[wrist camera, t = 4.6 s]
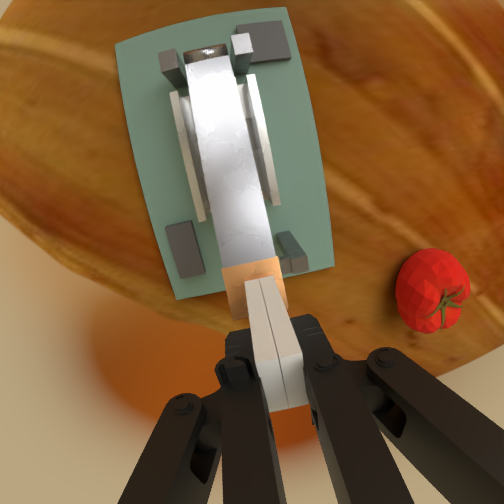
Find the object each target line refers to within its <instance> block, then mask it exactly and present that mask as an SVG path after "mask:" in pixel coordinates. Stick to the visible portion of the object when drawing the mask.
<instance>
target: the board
mask: <svg viewBox="0 0 504 504" xmlns="http://www.w3.org/2000/svg"><path fill="white" fill-rule="evenodd" d="M244 33H249V36H250V40H251V44H252V48H253V55H252V59H251V63H250V67H249V70H248V74H242V75H236V76H234V77H235V79H236V83H237V85H240V84H244V83H245V79H246V75H251V74H255V78H256V82H257V87H258V91H259V96H260V100H261V105H262V110H263V114H264V119H265V124H266V129H267V133H268V138H269V143H270V148H271V153H272V159H273V164H274V169H275V174H276V180H277V185H278V190H279V196H280V202H281V205H277V206H273V205H272V204H271V203H270V202H269V200H264V204H265V208H266V213H267V217H268V222H269V226H270V231H271V236H272V240H273V245H274V249H275V254H276V256H278V259H279V257H280V256H284V255H283V253H282V251H281V249H280V247H279V245H278V239H277V234H276V233H279V232H284V231H290V232H291V234H292V235H293V236H294V238H295V239H296V241H297V242H298V243H299V245H300V246H301V248H302V249H303V250H304V252H305V253H306V255H307V257H308V265H309V271H307V272H302V273H298V274H294V275H293V273H289V274H285V275H283V274H282V278H286V277H290V276H295V275H299V274H303V273H308V272H312V271H316V270H321V269H325V268H329V267H333V266H335V264H334V252H333V242H332V233H331V224H330V215H329V207H328V199H327V192H326V185H325V178H324V172H323V165H322V159H321V153H320V147H319V142H318V136H317V131H316V125H315V120H314V115H313V110H312V106H311V101H310V96H309V92H308V87H307V83H306V79H305V74H304V70H303V66H302V62H301V58H300V54H299V50H298V47H297V43H296V39H295V36H294V32H293V29H292V25H291V22H290V18H289V15H288V12H287V9H286V7H275V8H262V9H252V10H244V11H236V12H230V13H223V14H218V15H212V16H207V17H202V18H198V19H193V20H189V21H185V22H181V23H177V24H173V25H170V26H166V27H163V28H159V29H156V30H153V31H150V32H147V33H144V34H141V35H138V36H135V37H133V38H130V39H127V40H124V41H122V42H119V43H117V44H115V50H116V58H117V66H118V73H119V80H120V86H121V92H122V98H123V104H124V109H125V115H126V120H127V125H128V130H129V135H130V140H131V144H132V149H133V153H134V158H135V162H136V166H137V170H138V174H139V178H140V182H141V186H142V190H143V194H144V198H145V201H146V205H147V209H148V212H149V216H150V219H151V223H152V226H153V229H154V233H155V236H156V239H157V243H158V246H159V249H160V252H161V255H162V258H163V261H164V265H165V268H166V271H167V274H168V276H169V279H170V282H171V285H172V288H173V291H174V294H175V297H176V299H177V300H180V299H185V298H190V297H195V296H200V295H205V294H210V293H215V292H220V291H225V290H226V288H225V284H224V279H223V275H222V270H221V268H223V266H222V261H221V256H220V252H219V247H218V242H217V238H216V233H215V228H214V223H213V218H212V213H211V212H209V215H208V218H207V221H203V222H199V221H198V217H197V213H196V209H195V205H194V201H193V197H192V193H191V189H190V185H189V181H188V176H187V172H186V168H185V164H184V159H183V155H182V150H181V146H180V141H179V137H178V132H177V128H176V123H175V118H174V113H173V109H172V104H171V99H170V94H169V93H170V92H174V91H178V92H179V93H180V94H181V95H182V96H183V97H186V96H190V94H189V89H188V86H186V87H182V88H178V89H176V88H175V87H174V86H173V85H172V84H171V83H170V82H169V81H168V79H167V78H166V77H165V76H164V75H163V74H162V73H161V69H160V64H159V58H158V53H159V52H162V51H166V50H169V49H173V48H175V49H176V51H177V53H178V55H179V57H180V58H181V60H182V62H183V64H184V66H185V62H184V58H183V52H186V51H190V50H194V49H199V48H203V47H208V46H213V45H218V44H223V43H226V46H227V50H228V55H229V59H230V49H231V35H237V34H244ZM230 63H231V61H230ZM231 67H232V66H231ZM185 68H186V67H185ZM232 71H233V70H232ZM279 264H280V260H279ZM280 268H281V266H280ZM281 273H282V272H281Z"/></svg>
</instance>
